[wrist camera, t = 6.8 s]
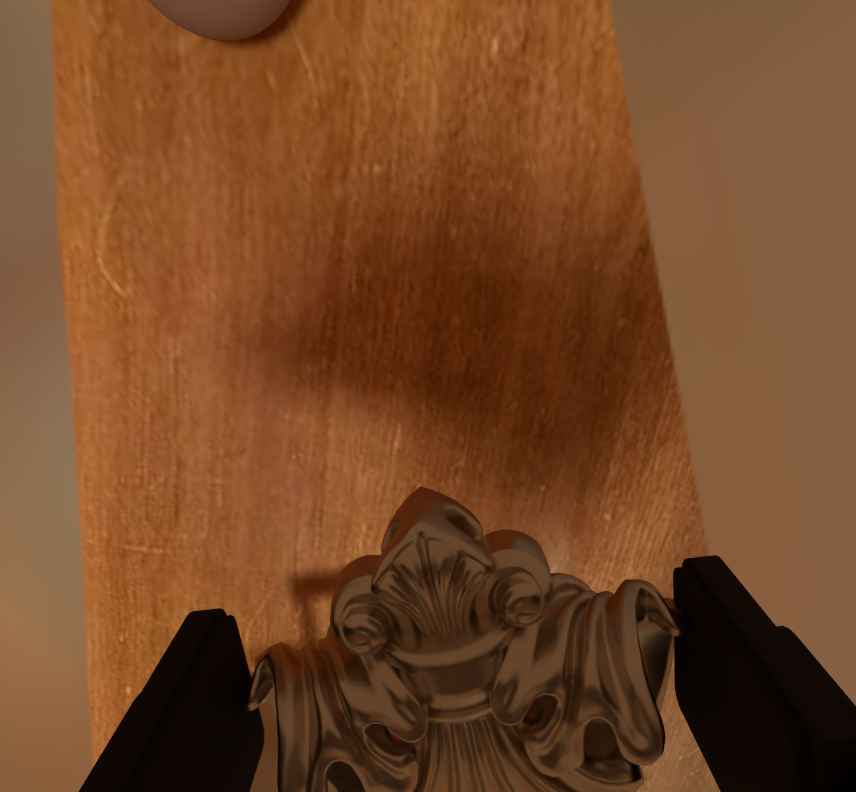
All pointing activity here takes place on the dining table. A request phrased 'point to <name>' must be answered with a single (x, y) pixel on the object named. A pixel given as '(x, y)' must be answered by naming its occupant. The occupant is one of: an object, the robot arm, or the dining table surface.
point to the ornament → (470, 670)
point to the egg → (222, 16)
